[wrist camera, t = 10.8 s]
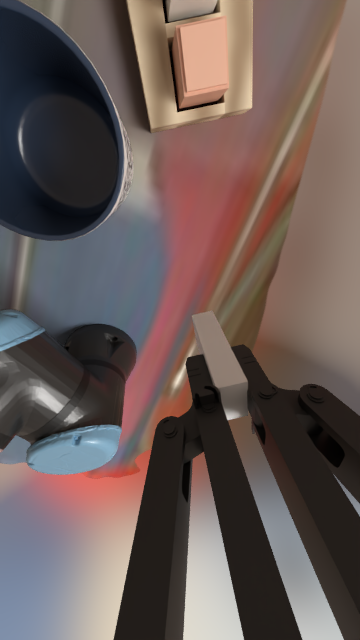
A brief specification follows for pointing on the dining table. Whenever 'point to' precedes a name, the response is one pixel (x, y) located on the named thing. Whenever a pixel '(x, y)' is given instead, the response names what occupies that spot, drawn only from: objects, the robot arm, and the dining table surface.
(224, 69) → the key
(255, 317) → the dining table surface
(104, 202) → the planter
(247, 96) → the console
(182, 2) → the key mid
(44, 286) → the dining table surface
